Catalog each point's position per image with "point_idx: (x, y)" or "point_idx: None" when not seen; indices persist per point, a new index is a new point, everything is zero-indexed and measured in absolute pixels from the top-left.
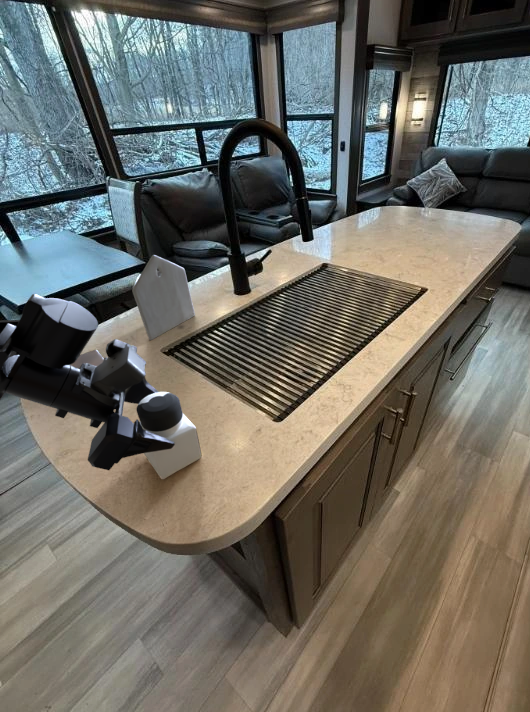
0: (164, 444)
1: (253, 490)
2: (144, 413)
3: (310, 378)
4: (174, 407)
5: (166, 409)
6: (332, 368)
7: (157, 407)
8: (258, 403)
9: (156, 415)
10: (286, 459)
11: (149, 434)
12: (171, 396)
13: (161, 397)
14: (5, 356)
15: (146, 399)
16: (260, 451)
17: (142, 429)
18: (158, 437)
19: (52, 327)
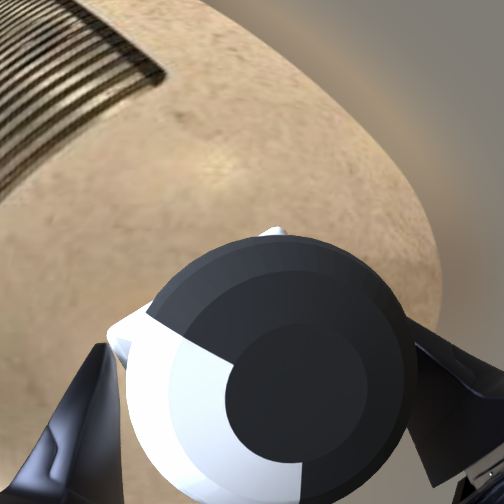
0: None
1: (358, 155)
2: (396, 443)
3: (60, 27)
4: (350, 256)
5: (383, 305)
6: (58, 3)
7: (373, 373)
8: (79, 114)
9: (416, 362)
10: (286, 83)
11: (467, 368)
12: (235, 289)
13: (248, 373)
14: None
15: (258, 484)
16: (255, 122)
17: (495, 390)
18: (430, 342)
19: None
